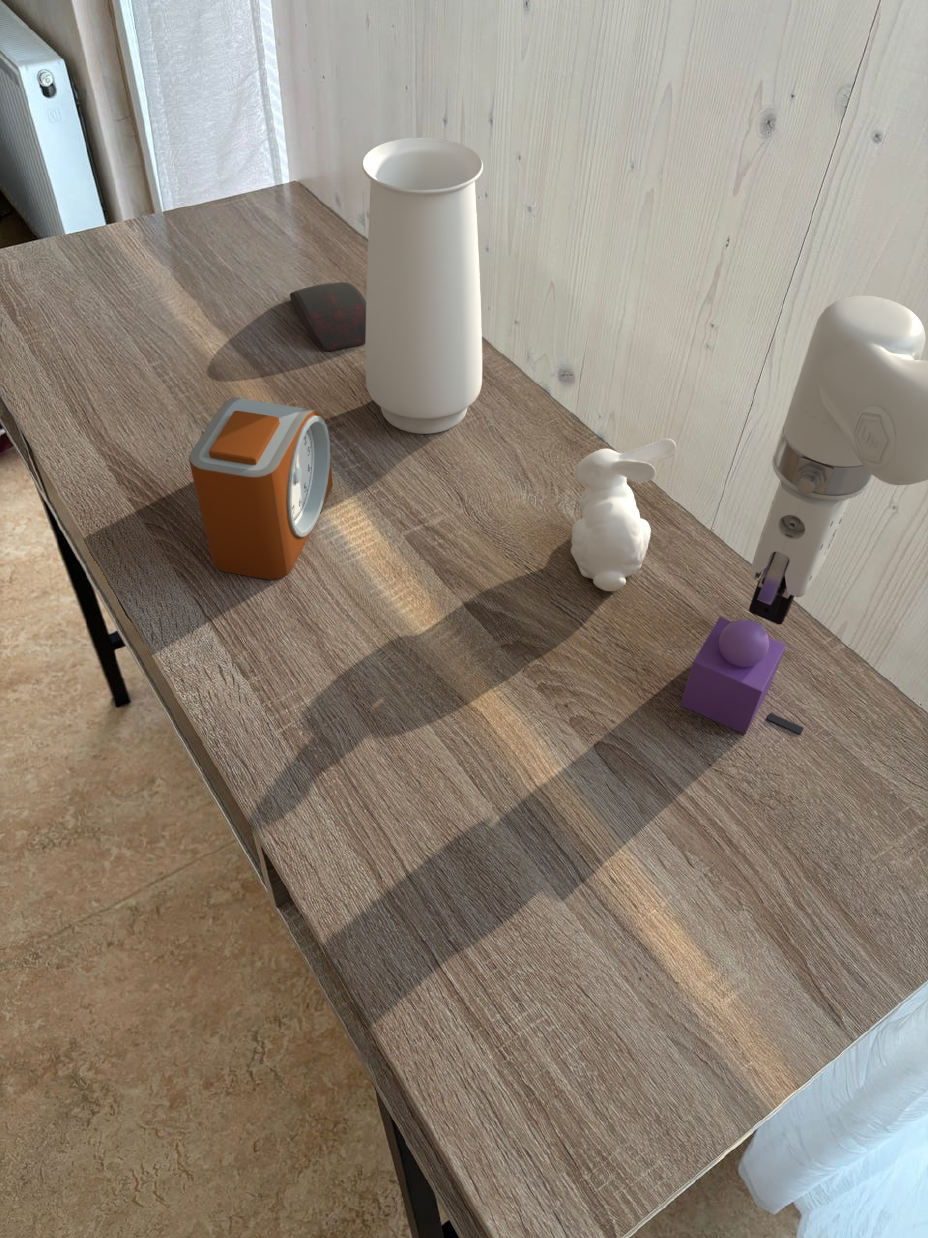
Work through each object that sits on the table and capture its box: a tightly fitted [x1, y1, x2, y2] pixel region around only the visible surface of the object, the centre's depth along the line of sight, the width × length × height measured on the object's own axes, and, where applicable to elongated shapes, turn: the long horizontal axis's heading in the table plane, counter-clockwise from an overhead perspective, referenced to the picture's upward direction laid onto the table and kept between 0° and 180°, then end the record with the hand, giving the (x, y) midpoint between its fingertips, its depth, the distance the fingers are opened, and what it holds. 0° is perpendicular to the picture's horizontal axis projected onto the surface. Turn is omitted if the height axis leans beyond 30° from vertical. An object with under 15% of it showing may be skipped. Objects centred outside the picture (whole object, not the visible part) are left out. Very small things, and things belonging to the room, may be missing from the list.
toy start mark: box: [766, 712, 805, 735], centre depth 87 cm, size 3×1×1 cm, turn 59°
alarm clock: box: [188, 397, 334, 581], centre depth 97 cm, size 15×8×14 cm, turn 167°
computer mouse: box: [289, 281, 366, 352], centre depth 127 cm, size 8×14×4 cm, turn 23°
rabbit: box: [570, 437, 677, 592], centre depth 96 cm, size 12×9×12 cm
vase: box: [361, 137, 484, 435], centre depth 106 cm, size 13×13×28 cm
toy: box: [680, 616, 787, 736], centre depth 85 cm, size 6×6×9 cm
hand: (767, 613), depth 93 cm, fingers closed
